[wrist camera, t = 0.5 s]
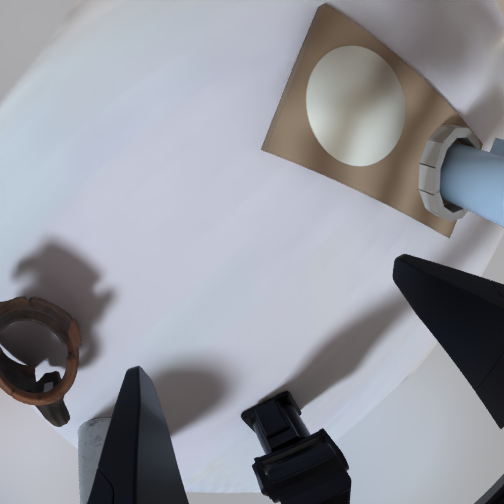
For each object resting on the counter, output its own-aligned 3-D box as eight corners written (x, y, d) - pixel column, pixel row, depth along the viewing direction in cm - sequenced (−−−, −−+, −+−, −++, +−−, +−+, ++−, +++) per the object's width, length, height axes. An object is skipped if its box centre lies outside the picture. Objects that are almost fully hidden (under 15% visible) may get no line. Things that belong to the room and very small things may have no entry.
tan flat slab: (476, 142, 29) (495, 147, 26) (443, 235, 32) (461, 244, 30) (318, 6, 17) (339, -4, 15) (260, 149, 21) (277, 154, 19)
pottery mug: (-29, 306, 18) (-48, 327, 12) (52, 268, 24) (60, 276, 18) (30, 415, 21) (39, 462, 15) (102, 378, 27) (129, 414, 20)
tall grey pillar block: (72, 413, 25) (72, 513, 15) (156, 419, 29) (177, 516, 19) (83, 453, 28) (89, 535, 18) (153, 457, 32) (171, 536, 22)
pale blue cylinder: (445, 209, 29) (531, 252, 19) (422, 178, 26) (524, 220, 16) (473, 150, 28) (557, 179, 17) (453, 114, 24) (550, 137, 14)
